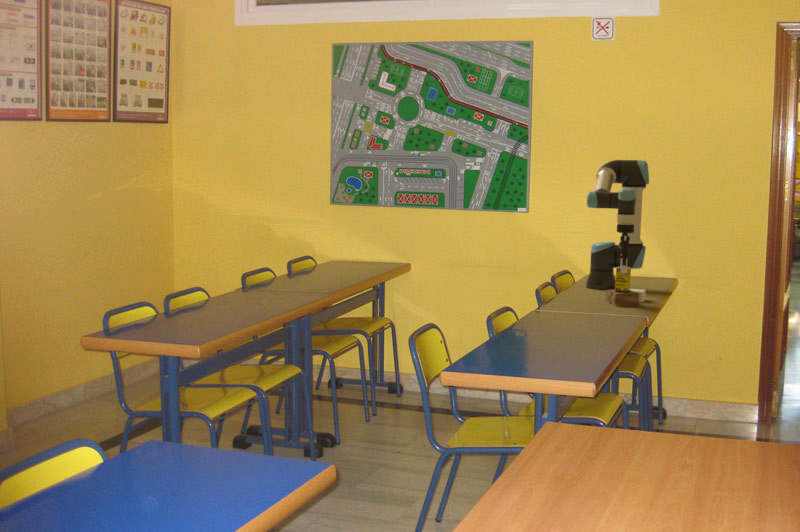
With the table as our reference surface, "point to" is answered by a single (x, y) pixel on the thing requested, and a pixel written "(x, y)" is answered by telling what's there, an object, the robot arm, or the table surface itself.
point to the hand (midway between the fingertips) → (623, 270)
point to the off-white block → (640, 294)
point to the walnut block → (622, 298)
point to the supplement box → (622, 280)
